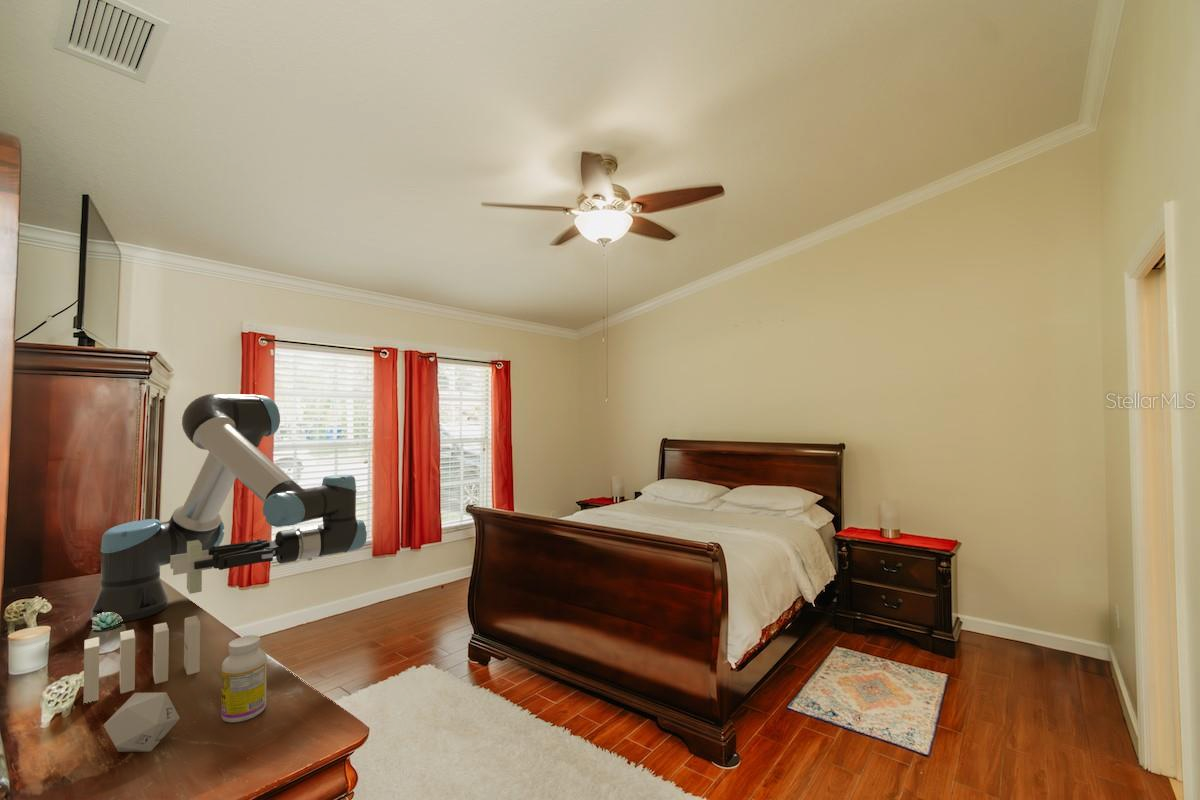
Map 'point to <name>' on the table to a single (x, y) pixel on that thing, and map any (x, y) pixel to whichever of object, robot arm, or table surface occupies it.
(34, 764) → the table surface
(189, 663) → the domino
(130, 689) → the domino
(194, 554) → the domino
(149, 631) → the table surface
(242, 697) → the supplement bottle
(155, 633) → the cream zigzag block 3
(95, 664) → the domino
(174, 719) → the die
